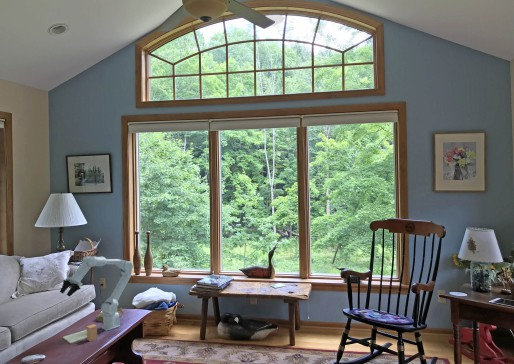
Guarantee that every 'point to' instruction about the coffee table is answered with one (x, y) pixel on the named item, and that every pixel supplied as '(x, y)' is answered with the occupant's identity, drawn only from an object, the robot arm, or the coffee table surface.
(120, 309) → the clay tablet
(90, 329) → the terracotta block
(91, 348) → the coffee table surface
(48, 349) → the coffee table surface
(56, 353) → the coffee table surface
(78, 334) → the grey mat
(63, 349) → the coffee table surface
